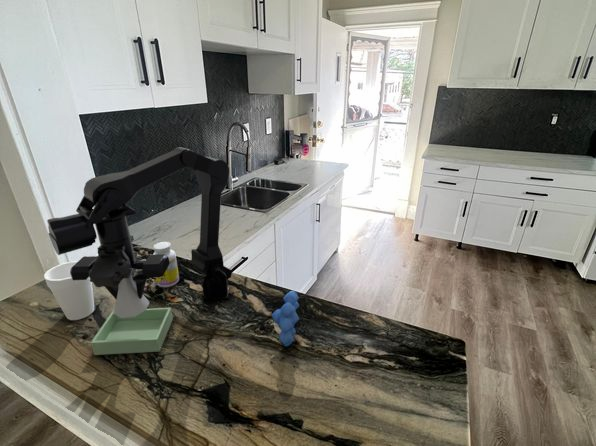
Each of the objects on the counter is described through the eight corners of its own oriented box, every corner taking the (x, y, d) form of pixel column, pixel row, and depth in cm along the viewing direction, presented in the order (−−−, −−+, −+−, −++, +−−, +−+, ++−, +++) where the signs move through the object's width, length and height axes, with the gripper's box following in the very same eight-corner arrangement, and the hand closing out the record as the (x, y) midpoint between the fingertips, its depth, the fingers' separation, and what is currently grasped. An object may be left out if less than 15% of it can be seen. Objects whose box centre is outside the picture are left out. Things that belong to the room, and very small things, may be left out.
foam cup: (50, 318, 81) (35, 275, 76) (84, 298, 89) (72, 258, 84) (75, 328, 78) (61, 284, 73) (108, 306, 86) (97, 265, 81)
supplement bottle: (151, 283, 96) (144, 246, 91) (170, 274, 101) (164, 238, 96) (166, 290, 93) (159, 252, 88) (184, 280, 98) (178, 243, 93)
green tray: (173, 318, 82) (171, 307, 80) (159, 351, 72) (157, 339, 70) (116, 321, 81) (113, 310, 79) (94, 355, 70) (90, 342, 69)
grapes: (277, 319, 82) (276, 280, 78) (302, 322, 81) (303, 283, 77) (265, 352, 72) (264, 310, 67) (294, 356, 71) (295, 313, 66)
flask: (135, 321, 70) (126, 283, 66) (107, 316, 71) (96, 279, 67) (155, 301, 76) (148, 265, 72) (129, 297, 77) (120, 262, 74)
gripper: (42, 257, 58) (66, 324, 64) (147, 254, 60) (160, 319, 66) (76, 232, 68) (93, 292, 74) (164, 230, 70) (174, 288, 76)
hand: (129, 298), depth 72 cm, fingers closed on flask, 5 cm apart
